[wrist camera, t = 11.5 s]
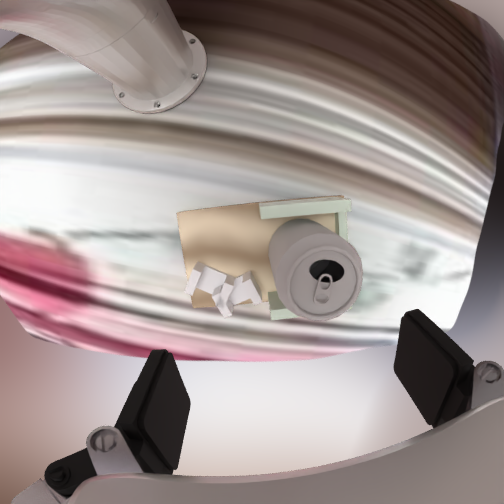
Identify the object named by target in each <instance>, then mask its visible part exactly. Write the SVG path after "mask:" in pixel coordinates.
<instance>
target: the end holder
mask: <svg viewBox="0 0 504 504" xmlns="http://www.w3.org/2000/svg"><path fill="white" fill-rule="evenodd" d="M259 211H260V216H261V219H270V218H280V217H291V216H302V215H313V214H324V213H335V231H336V234H337V235H339V236H341V237H342V238H344V239H345V240H346V241H347V242H348V232H347V212H350V211H351V199H346V198H340V197H324V198H311V199H299V200H287V201H276V202H266V203H259ZM268 301H269V308H270V315H271V320H279V319H287V318H296V317H300V316H297V315H295V314H294V313H292V312H291V311H289V310H288V309H287V308H286V307H285V306H284V304H283V303H282V301H281V300H280V299H279V296H278V293H277V291H274V292H268ZM351 309H352V306H351V307H350V308H349V309H348V310H351Z"/></svg>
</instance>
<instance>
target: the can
mask: <svg viewBox="0 0 504 504" xmlns="http://www.w3.org/2000/svg"><path fill="white" fill-rule="evenodd" d="M268 256H269V260H270V264H271V269H272V273H273V277H274V282H275V286H276V289H277V293H278V296H279V299H280V300H281V301H282V303H283V304H284V306H285V307H286V308H287V309H288V310H289V311H291V312H292V313H294V314H295V315H297V316H300V317H303V318H307V319H310V320H314V321H326V320H329V319H333V318H336V317H338V316H340V315H341V314H343V313H344V312H346V311H347V310H348V309H349V308H350V307H351V306H352V305H353V304H354V302H355V301H356V299H357V297H358V295H359V293H360V291H361V285H362V275H363V270H362V264H361V259H360V257H359V255H358V253H357V251H356V250H355V248H354V247H353V246H352V245H351V244H350V243H349V242H347V241H346V240H345V239H344V238H342V237H341V236H339V235H337V234H336V233H334V232H333V231H331V230H329V229H328V228H326V227H324V226H323V225H321V224H319V223H318V222H315V221H313V220H310V219H302V218H297V219H294V220H290V221H287V222H286V223H284V224H283V225H281V226H280V227H279V228H278V229H277V230H276V231H275V233H274V234H273V235H272V238H271V241H270V243H269V253H268Z"/></svg>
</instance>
